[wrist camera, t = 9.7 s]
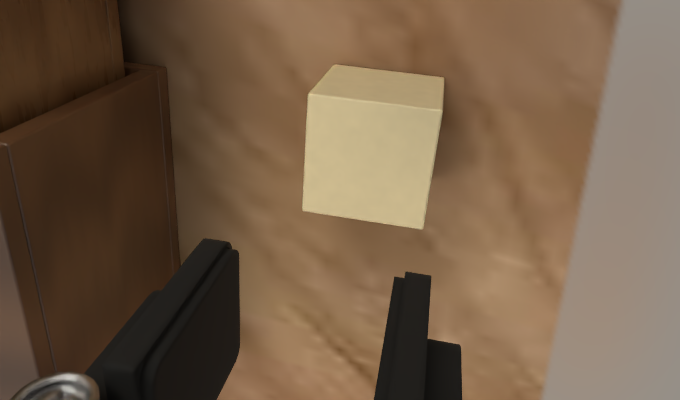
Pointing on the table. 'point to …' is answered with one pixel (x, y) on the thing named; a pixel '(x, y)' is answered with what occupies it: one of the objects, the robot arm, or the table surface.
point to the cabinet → (84, 224)
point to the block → (372, 145)
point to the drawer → (55, 54)
